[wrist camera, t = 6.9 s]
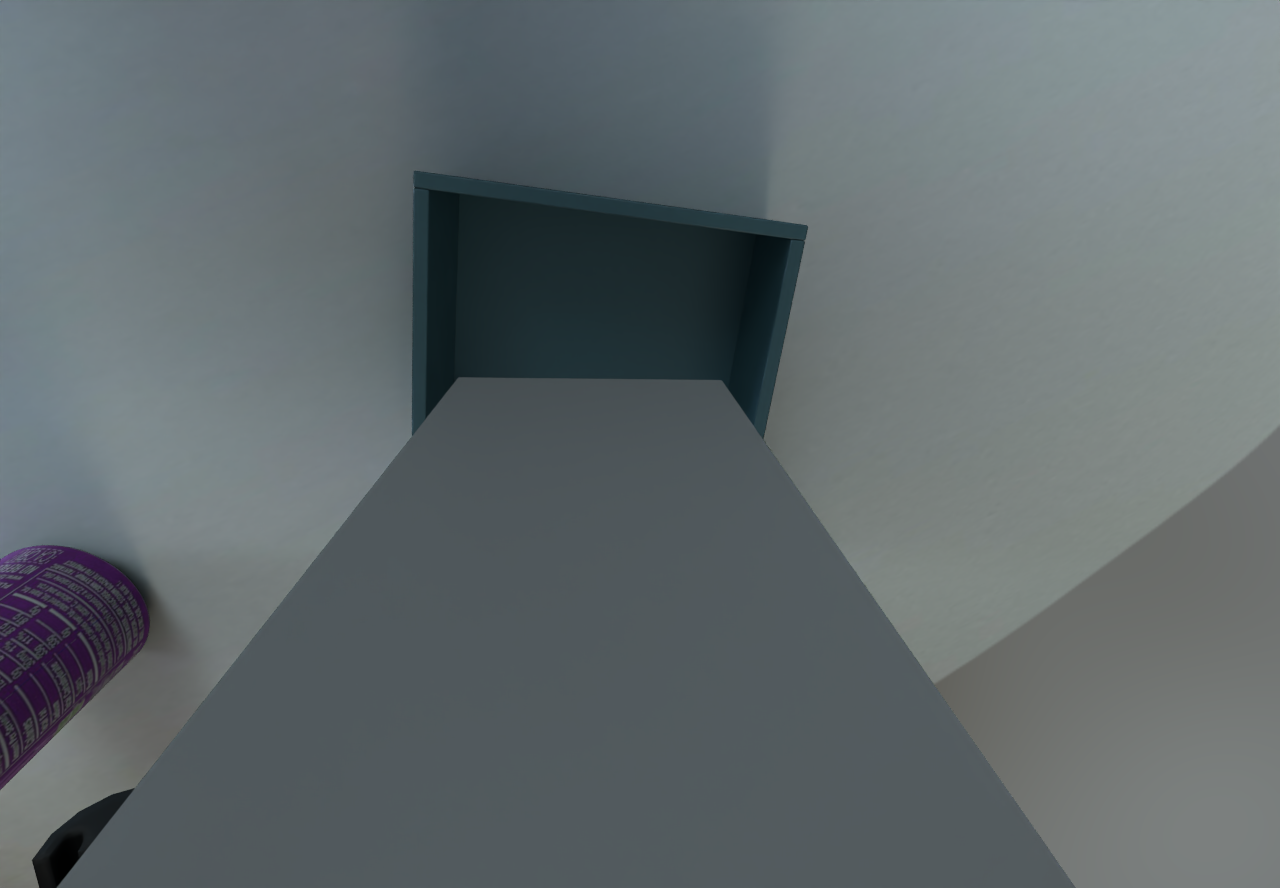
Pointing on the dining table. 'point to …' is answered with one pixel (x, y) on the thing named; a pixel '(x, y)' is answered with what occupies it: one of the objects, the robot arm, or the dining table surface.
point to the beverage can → (59, 642)
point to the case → (594, 290)
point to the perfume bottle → (575, 683)
